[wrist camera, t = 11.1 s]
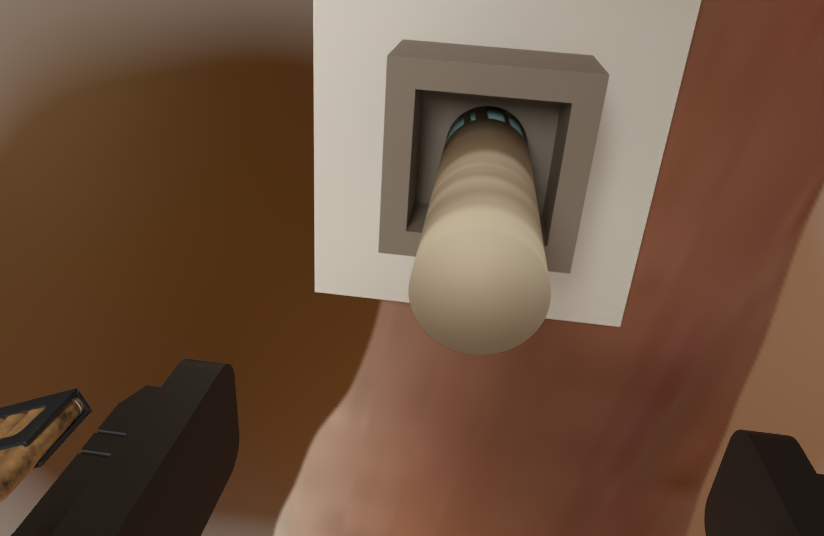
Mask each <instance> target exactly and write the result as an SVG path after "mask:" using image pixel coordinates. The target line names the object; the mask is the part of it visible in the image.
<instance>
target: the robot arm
mask: <svg viewBox="0 0 824 536" xmlns="http://www.w3.org/2000/svg"><path fill="white" fill-rule="evenodd" d="M237 414H238V413H237V401H236V389H235V376H234V370H233V368H232V366H231V365H230V364H225V363H218V362H209V361H202V360H194V359H184V360H182V361H181V362H180V363H179V364H178V365H177V366H176V368H175V369H174V371H173V372H172V373H171V375H170V376H169V377H168V378H167V380H166V381H165V382H164V384H163V385H162V387H156V386H148V385H147V386H145V387H144V388H142V389H141V390H139V391H138V392H136V393H134V394H133V395H131V396H130V397H128V398H127V399H125V400H124V401H122V402H121V403H119V404H118V405H117V406H116V407H115V409H114V410H113V411H112V412H111V413H110V415H109V416H108V417H107V418H106V420H105V421H104V422H103V423H102V425H101V426H100V427H99V428H98V433H94V434H93V436H92V437H91V438H90V439H89V441H88V442H87V443H86V444H85V446H84V447H83V448H82V452H81V454H77V455H76V457H75V458H74V459H73V460H72V461H71V463H70V464H69V465H68V467H67V468H66V469H65V470H64V471H63V473H62V474H61V475H60V476H59V478H58V479H57V480H56V481H55V483H54V484H53V485H52V486H51V487H50V489H49V490H48V491H47V492H46V494H45V495H44V496H43V497H42V498H41V500H40V501H39V502H38V503H37V505H36V506H35V507H34V508H33V510H32V511H31V512H30V513H29V515H28V516H27V517H26V518H25V519H24V521H23V522H22V523H21V525H20V526H19V527H18V528H17V529H16V531H15V532H14V533H13V534H12V535H11V536H201V534H202V532H203V530H204V528H205V526H206V524H207V522H208V520H209V517H210V516H211V514H212V512H213V510H214V508H215V506H216V504H217V502H218V500H219V498H220V496H221V494H222V492H223V490H224V488H225V485H226V484H227V481H228V479H229V478H230V475H231V473H232V471H233V468H234V465H235V462H236V458H237V453H238V447H239V426H238V415H237ZM705 532H706V536H824V475H823V474H817V473H816V471H815V470H814V468H813V466H812V465H811V463H810V461H809V460H808V458H807V456H806V455H805V453H804V451H803V449H802V448H801V447H800V444H799V443H798V442H797V440H796V439H795V438H793V437H791V436H787V435H779V434H771V433H763V432H755V431H746V430H737V431H736V432H735V433H734V434H733V435H732V436H731V438H730V441H729V443H728V446H727V449H726V451H725V454H724V456H723V459H722V462H721V464H720V467H719V470H718V472H717V475H716V477H715V480H714V482H713V485H712V488H711V491H710V493H709V496H708V498H707V502H706V507H705Z"/></svg>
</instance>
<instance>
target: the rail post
mask: <svg viewBox="0 0 824 536" xmlns="http://www.w3.org/2000/svg"><path fill="white" fill-rule="evenodd" d="M408 295H409V303H410V307H411V310H412V313H413V315H414V317H415V319H416V321H417V322H418V324H419V325H420V327H421V328H422V329H423V330H424V331H425V333H427V334H428V335H429V336H430V337H431V338H432V339H434V340H435V341H436V342H438V343H439V344H441V345H443V346H445V347H447V348H449V349H451V350H454V351H457V352H461V353H465V354H471V355H490V354H497V353H501V352H504V351H508V350H510V349H513V348H515V347H517V346H518V345H520V344H522V343H523V342H525V341H526V340H528V339H529V338H530V337H531V336H532V335H533V334H534V333H535V332H536V331H537V330H538V329H539V327H540V326H541V325H542V323H543V321H544V320H545V317H546V315H547V313H548V310H549V306H550V299H551V288H550V281H549V275H548V268H547V262H546V256H545V249H544V243H543V236H542V230H541V224H540V217H539V211H538V204H537V198H536V192H535V185H534V179H533V172H532V166H531V160H530V153H529V147H528V140H527V135H526V132H525V130H524V128H523V126H522V124H521V123H520V121H519V120H518V119H517V118H516V117H515V116H514V115H513V114H512V113H510V112H508V111H507V110H504V109H502V108H499V107H495V106H479V107H475V108H472V109H470V110H468V111H466V112H464V113H463V114H462V115H460V116H459V117H458V118H457V119H456V120H455V121H454V123H453V124H452V125H451V127H450V129H449V131H448V134H447V137H446V141H445V145H444V149H443V152H442V156H441V160H440V164H439V168H438V172H437V176H436V180H435V184H434V187H433V191H432V195H431V199H430V203H429V207H428V211H427V215H426V218H425V222H424V226H423V230H422V234H421V238H420V242H419V246H418V250H417V253H416V257H415V261H414V265H413V269H412V273H411V277H410V281H409V288H408Z"/></svg>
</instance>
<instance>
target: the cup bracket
mask: <svg viewBox="0 0 824 536" xmlns="http://www.w3.org/2000/svg"><path fill="white" fill-rule="evenodd" d="M700 4H701V0H313V16H314V18H313V29H314V30H313V31H314V32H313V33H314V215H315V216H314V220H315V222H314V224H315V226H314V227H315V292H322V293H331V294H339V295H347V296H356V297H365V298H374V299H382V300H391V301H399V302H408V303H409V295H408V288H409V281H410V277H411V273H412V269H413V265H414V261H415V257H416V253H417V250H418V246H419V242H420V238H421V234H422V230H423V226H424V222H425V218H426V215H427V211H428V207H429V203H430V199H431V195H432V191H433V187H434V184H435V180H436V176H437V172H438V168H439V164H440V160H441V156H442V152H443V149H444V145H445V141H446V137H447V134H448V131H449V129H450V127H451V125H452V124H453V123H454V121H455V120H456V119H457V118H458V117H459V116H460V115H462V114H463V113H464V112H466V111H468V110H470V109H472V108H475V107H479V106H495V107H499V108H502V109H504V110H507V111H508V112H510V113H512V114H513V115H514V116H515V117H516V118H517V119H518V120H519V121H520V123H521V124H522V126H523V128H524V130H525V132H526V135H527V140H528V147H529V153H530V160H531V166H532V172H533V179H534V185H535V192H536V198H537V204H538V211H539V217H540V224H541V230H542V236H543V243H544V249H545V256H546V262H547V268H548V275H549V281H550V288H551V299H550V306H549V310H548V313H547V315H546V317H545V318H547V319H556V320H564V321H573V322H582V323H590V324H599V325H608V326H617V327H620V325H621V321H622V317H623V313H624V309H625V305H626V301H627V297H628V293H629V289H630V285H631V281H632V277H633V273H634V269H635V265H636V261H637V257H638V253H639V249H640V245H641V241H642V237H643V233H644V229H645V225H646V221H647V217H648V213H649V209H650V205H651V201H652V197H653V193H654V189H655V185H656V181H657V177H658V173H659V169H660V165H661V161H662V157H663V153H664V149H665V145H666V141H667V137H668V133H669V129H670V125H671V121H672V117H673V113H674V108H675V104H676V100H677V96H678V92H679V88H680V84H681V80H682V76H683V72H684V68H685V64H686V60H687V56H688V52H689V48H690V44H691V40H692V36H693V32H694V28H695V24H696V20H697V16H698V12H699V8H700Z"/></svg>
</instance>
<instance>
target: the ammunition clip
mask: <svg viewBox="0 0 824 536" xmlns="http://www.w3.org/2000/svg"><path fill="white" fill-rule="evenodd" d="M91 411H92V409H91V408H90V406H89V405H88V404H87V402H86V401H85V399H84V398H83V396H82V395H81V393H80V392H79V391H78V389H77V388H76V389H72V390H68V391H64V392H60V393H56V394H52V395H48V396H44V397H40V398H37V399H33V400H29V401H25V402H21V403H17V404H13V405H10V406H6V407H2V408H0V502H2V501H3V500H4V499H5V498H7V496H8V495H9V494H10V493H11V492H12V491H13V490H14V489H15V488H16V487H17V485H18V484H19V483H20V482H21V481H22V480H23V479H24V478H25V476H26V475H27V474H28V473H29V472H30V471H31V470H32V469H33V468H36V467H41V466H42V465H43V464H44V463H45V462H46V461H47V459H49V457H50V456H51V455H52V454H53V453H54V452H55V451H56V450H57V449H58V447H59V446H60V445H61V444H62V443H63V442H64V441H65V440H66V439H67V437H68V436H69V435H70V434H71V433H72V432H73V431H74V430H75V428H77V427H78V425H79V424H80V423H81V422H82V421H83V420H84V419H85V418H86V416H87V415H88V414H89V413H90V412H91Z"/></svg>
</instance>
